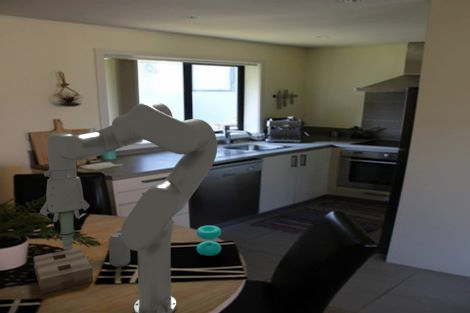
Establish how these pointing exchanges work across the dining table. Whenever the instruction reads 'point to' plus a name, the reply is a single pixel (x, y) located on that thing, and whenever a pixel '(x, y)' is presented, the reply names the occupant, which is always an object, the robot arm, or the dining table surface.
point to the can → (118, 250)
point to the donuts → (208, 246)
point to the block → (62, 270)
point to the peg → (66, 229)
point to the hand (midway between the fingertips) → (66, 230)
